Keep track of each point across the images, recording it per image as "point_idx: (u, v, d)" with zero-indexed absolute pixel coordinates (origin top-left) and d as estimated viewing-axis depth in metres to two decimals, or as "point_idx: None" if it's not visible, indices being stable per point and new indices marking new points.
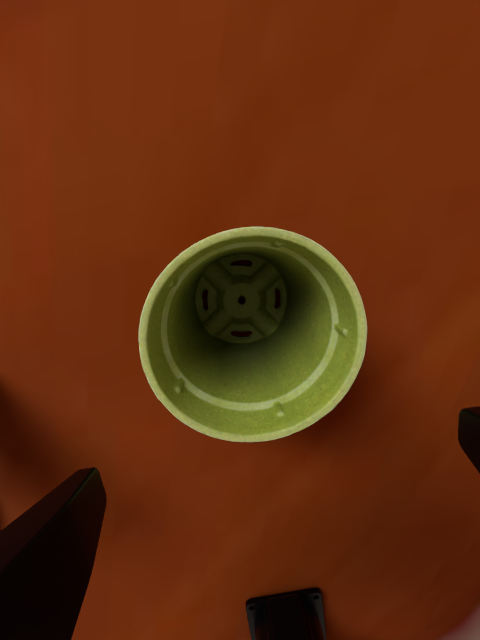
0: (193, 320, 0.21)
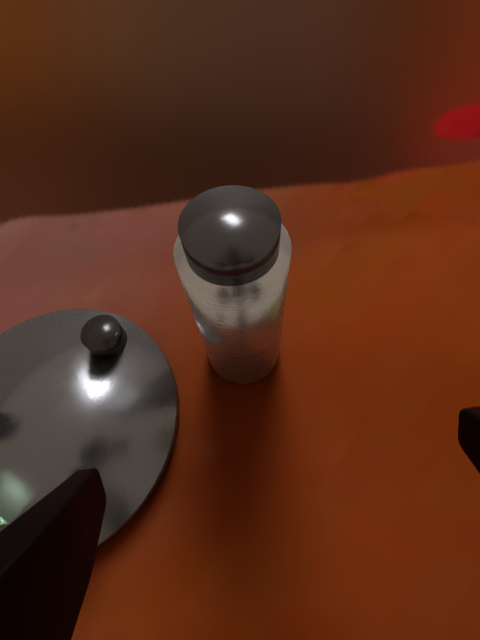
0: None
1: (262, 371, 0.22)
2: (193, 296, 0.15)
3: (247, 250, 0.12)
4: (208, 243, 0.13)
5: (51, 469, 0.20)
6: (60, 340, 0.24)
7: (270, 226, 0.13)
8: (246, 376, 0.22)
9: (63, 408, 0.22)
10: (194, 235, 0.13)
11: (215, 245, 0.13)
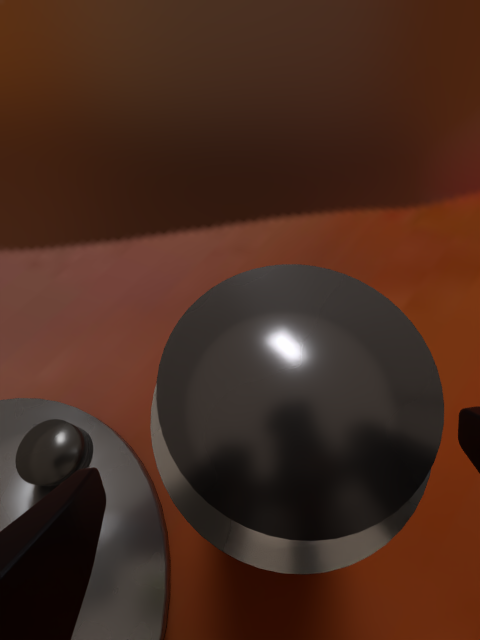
0: None
1: None
2: None
3: (359, 487, 0.04)
4: (241, 454, 0.04)
5: None
6: None
7: (413, 397, 0.05)
8: None
9: None
10: (201, 419, 0.05)
11: (262, 463, 0.04)
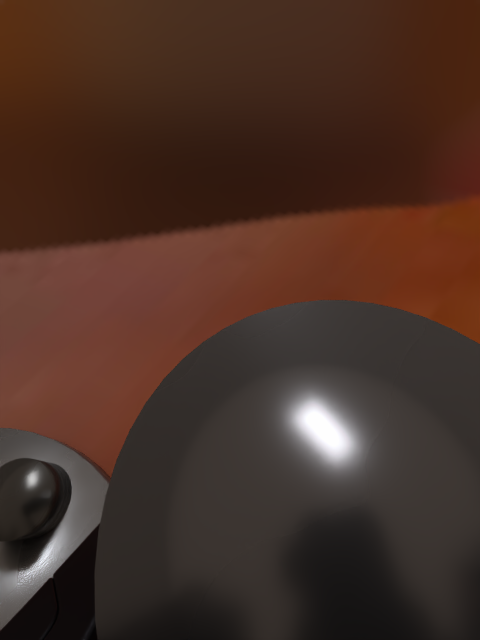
0: None
1: None
2: None
3: None
4: None
5: None
6: None
7: None
8: None
9: None
10: (181, 628, 0.02)
11: None
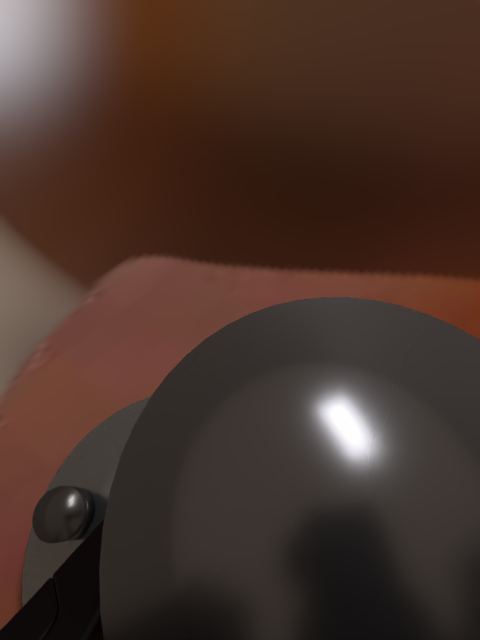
0: None
1: None
2: None
3: None
4: None
5: None
6: None
7: None
8: None
9: None
10: (186, 620, 0.02)
11: None
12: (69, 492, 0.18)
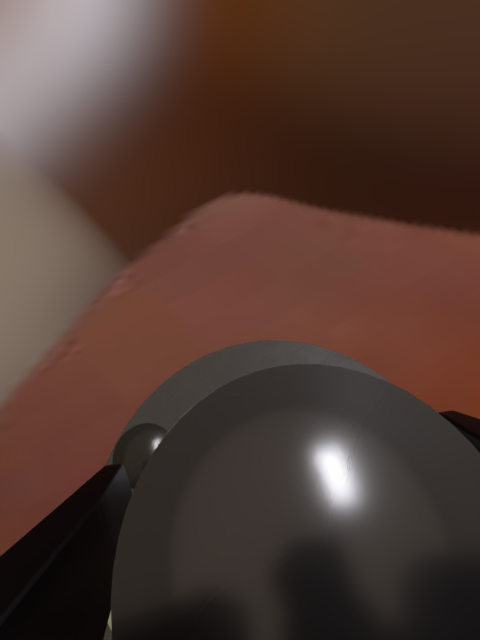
0: None
1: None
2: None
3: None
4: None
5: None
6: None
7: None
8: None
9: None
10: None
11: None
12: (158, 432, 0.15)
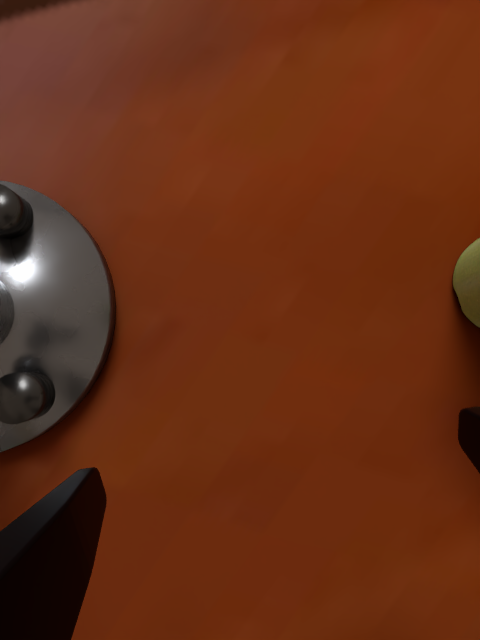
0: (468, 268, 0.19)
1: None
2: None
3: None
4: None
5: None
6: None
7: None
8: None
9: None
10: None
11: None
12: None
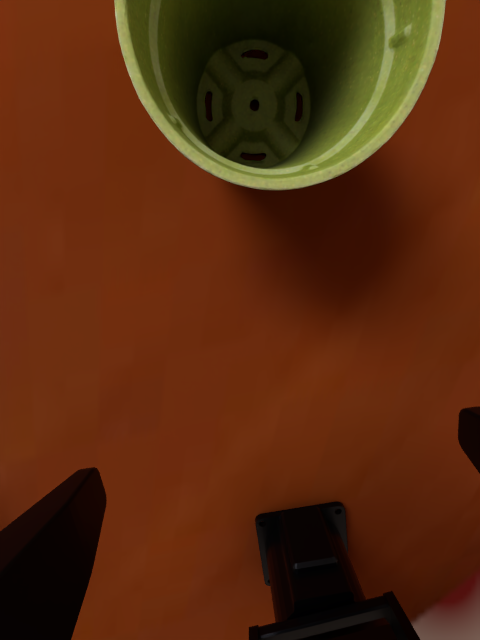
0: (194, 117, 0.16)
1: None
2: None
3: None
4: None
5: None
6: None
7: None
8: None
9: None
10: None
11: None
12: None
